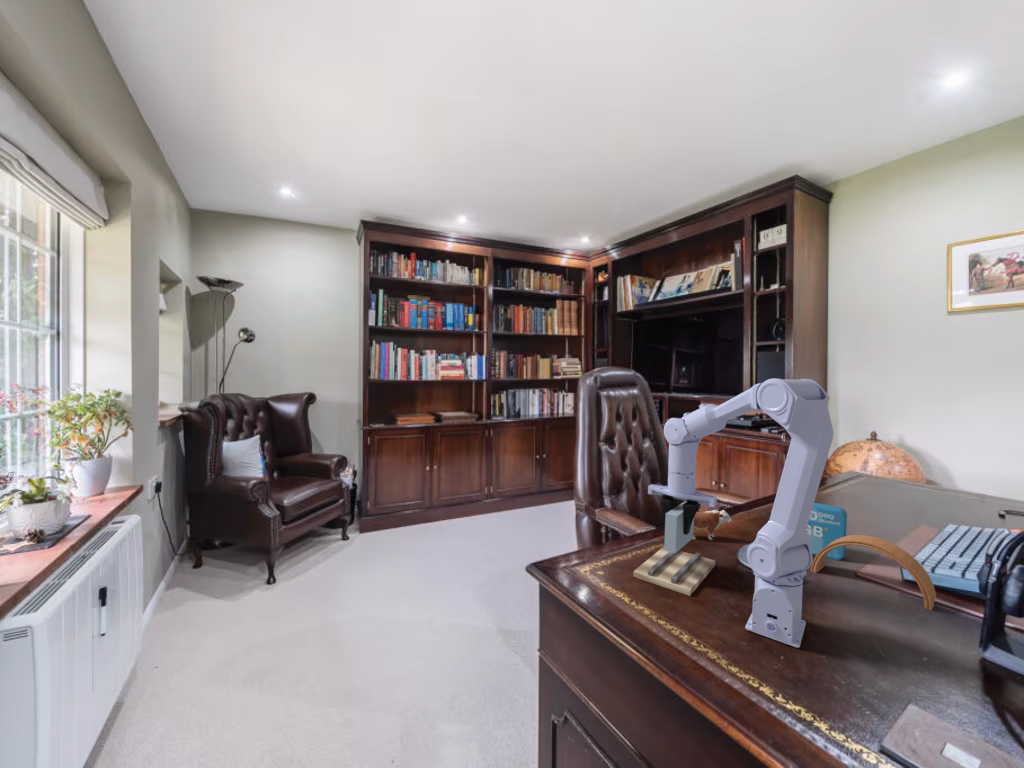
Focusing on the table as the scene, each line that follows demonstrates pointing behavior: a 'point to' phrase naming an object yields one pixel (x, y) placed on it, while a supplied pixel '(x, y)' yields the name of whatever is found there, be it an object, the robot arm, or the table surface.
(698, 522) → the bull figurine
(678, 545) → the grey rectangular block
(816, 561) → the arch
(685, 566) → the track board
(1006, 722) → the table surface
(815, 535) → the data package
